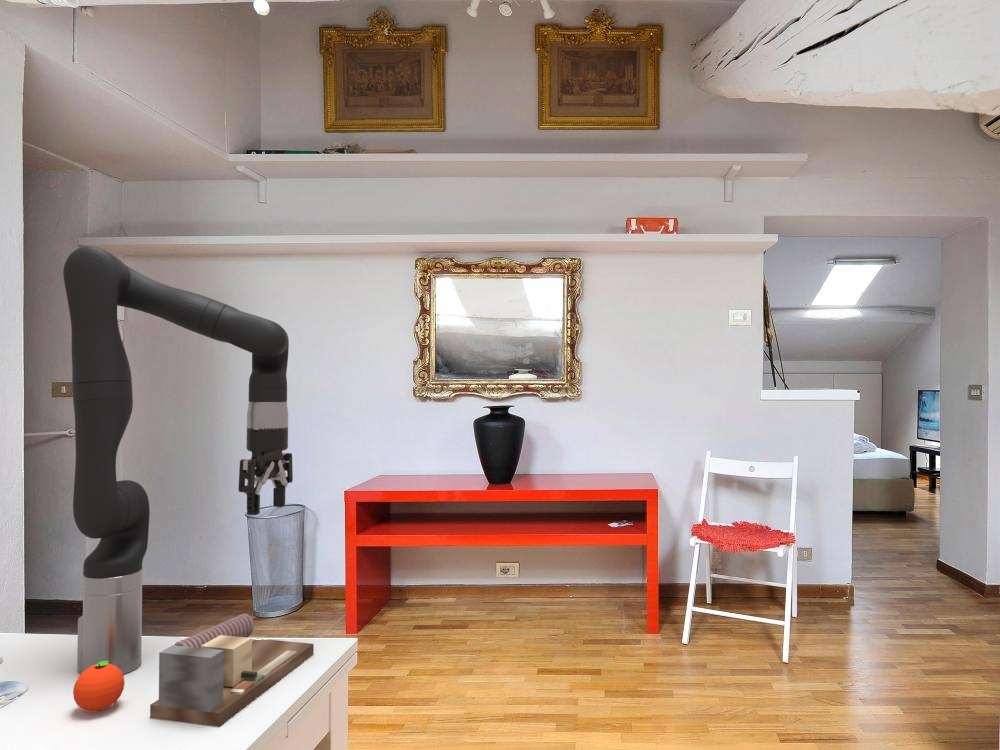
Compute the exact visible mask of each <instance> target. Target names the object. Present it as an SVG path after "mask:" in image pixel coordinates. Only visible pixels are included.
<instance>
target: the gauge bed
mask: <svg viewBox="0 0 1000 750" xmlns="http://www.w3.org/2000/svg"><path fill="white" fill-rule="evenodd" d="M256 639H259V638H256ZM314 644H315V643H309V642H299V641H288V640H279V639H268V640H255V639H253V640H252V672H257V678H255V679H248V678H245V679H244V680H243V681H241V682H240V683H238V684H237V685H235V686H234V687H229V686H223V675H224V650H216V649H206V648H196V647H186V646H176V645H174V644H173V645H171V646H169V647H167V648H165V649H164V650H161V651H159V653H158V664H159V665H158V699H157V700H155V701H154V702H152V703H151V704H149V705H150V706H149V707H150V708H149V718H150V719H154V720H162V721H163V720H164V721H170V722H178V723H184V724H185V723H187V724H192V725H193V724H194V725H203V726H208V727H209V726H210V727H217V728H220V727H221V726H223V725H224V724H225V723H227V722H228V721H230V719H232V718H233V717H235V715H237V714H238V713H239V712H241V711H242V710H243V709H245V708H246V707H247V706H248V705H250V704H251V703H252V702H254V701H255V700H257V698H260V696H261V695H263V694H264V693H266V692H267V691H268V690H270V689H271V688H272V687H273V686H274V685H276V684H277V683H278V682H280V681H281V680H282V679H284V678H285V677H286V676H287V675H289V674H290V673H292V671H294V670H296V669H297V668H298V667H299V666H300V665H302V664H303V663H304V662H306V661H307V660H308V659H310V658H311V657H312V656H313V655H314V653H315V652H314V651H315V649H314Z"/></svg>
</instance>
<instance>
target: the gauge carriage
mask: <svg viewBox="0 0 1000 750" xmlns="http://www.w3.org/2000/svg"><path fill="white" fill-rule="evenodd" d="M252 641H253V639H252V637H236V636H225V635H220V636H218V637H216V638H214V639H213V640H211V641H209V642H207V643H205V644H204V645H202V646H201V648H206V649H216V650H224V675H223V686H229V687H234V686H235V685H237V684H238V683H240V682H241V681H243V680H244V679H245V678H248V679H255V678H257V672H252Z"/></svg>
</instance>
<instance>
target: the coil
mask: <svg viewBox="0 0 1000 750" xmlns="http://www.w3.org/2000/svg"><path fill="white" fill-rule="evenodd" d="M254 628H255V624H254V620H253V618H252V616H250V614H248V613H241V614H240V615H237V616H234V617H232V618H230V619H227V620H225V621H223V622H221V623H218V624H216V625H214V626H211V627H210V628H207V629H205V630H202V631H200V632H197V633H196V634H193V635H191V636H189V637H186V638H184V639H181V640H179V641H176V642H175V643H174V644H173V645H176V646H186V647H196V648H201V646H202V645H204V644H205V643H207V642H209V641H211V640H213V639H214V638H216V637H218V636H220V635H225V636H236V637H247V638H250V636H252V635H253V632H254Z"/></svg>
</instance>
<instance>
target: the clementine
mask: <svg viewBox="0 0 1000 750" xmlns="http://www.w3.org/2000/svg"><path fill="white" fill-rule="evenodd" d="M124 688H125V677H124V674H122V672H121V670H120V669H119V668H118V667H116V666H114V665H112V664H111V662H110V661H102V662H99V663H97V664H95V665H93V666H91V667H89V668H88V669H86V670H85V671H84V672H82V673H80V675H78V677H77V679H76V680H75V682H74V686H73V691H72V694H73V695H72V696H73V700H74V702H75V704H76V705H77V706H78V707H79V708H80V709H81V710H84V711H86V712H90V713H95V712H97V713H98V712H102V711H104V710H107V709H109V708H111V707H112V706H113V705H115V703H116V702H117V701H118V700H119V699H120V698H121V696H122V694H123V692H124Z"/></svg>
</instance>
